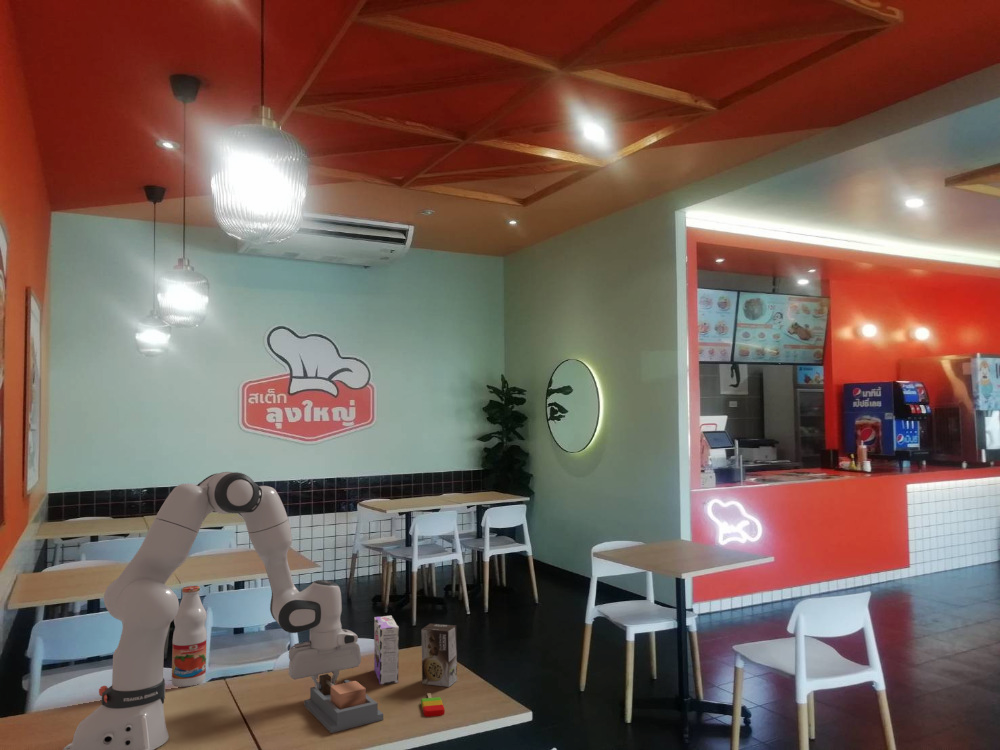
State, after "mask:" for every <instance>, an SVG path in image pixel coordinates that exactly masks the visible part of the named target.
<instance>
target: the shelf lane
mask: <svg viewBox="0 0 1000 750" xmlns="http://www.w3.org/2000/svg"><path fill="white" fill-rule="evenodd" d="M347 682H351V680H349V679H344V680H343V683H347ZM309 689H310V690H309V691H310V696H309V698H308V699H307V698H306V699H304V704H303V706H304V708H306V709H307V710H308V711H309V712H310V713H311V714H312V715H313V716H314V718H315V719H317V720H318V721H319V723H321V724H322V726H324V728H325V729H326V730H327V731H328V732H330V734H333V733H337V732H342V731H346V730H349V729H352V728H358V727H360V726H364V725H368V724H371V723H376V722H380V721H383V720H384V713H383V712H382V711H381V710H380V709H378V708H379V707H378V706H379V705H378V702H377V701H375V700H374V699H373V698H372V697H370V696H369V695H368V694H367V693H366V704H362V705H357V706H353V707H349V708H345V709H341V710H340V709H338V708H337V707H336V706H335V705H334V704H333V703H332V702H331V701H330V695H325V696H324V695H323V694H322V693H321V692H320V691H319V690H318V689H317V688H316V687H315V686H313V687H310V688H309Z"/></svg>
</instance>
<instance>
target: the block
mask: <svg viewBox="0 0 1000 750" xmlns="http://www.w3.org/2000/svg"><path fill="white" fill-rule="evenodd" d="M331 678H332V676H331V675H329V674H328V673H325V674H320V675H318V682H320V683H322V690H319V691H320V692H321V693H322V694H323V695H324V696H325V695H330V701H331V702H332V703H333V704H334V705H335V706H336V707H337V708H338V709H340V710H341V709H345V708H349V707H353V706H357V705H362V704H366V694H367V693H366V692H367V689H366V687H364V685H362V684H360V683H359V682H358V680H357V681H356V680H351V681H350V682H347V683H344V682H343V683H339V684H338V683H337V684H335V685H334V684H332V683H331Z"/></svg>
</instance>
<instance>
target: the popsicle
mask: <svg viewBox="0 0 1000 750" xmlns="http://www.w3.org/2000/svg"><path fill="white" fill-rule="evenodd" d="M426 695H427V698H421V699H420V705H421V709H422V712H423V716H424V717H426V718H427V717H428V718H429V717H430V718H431V717H438V716H439V717H441V716H444V715H445V710H446V709H445V706H444V704H443V701H442V698H441V697H439V696H438V697H432V693H431V692H427V693H426Z"/></svg>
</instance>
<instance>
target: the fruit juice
mask: <svg viewBox="0 0 1000 750" xmlns="http://www.w3.org/2000/svg"><path fill="white" fill-rule="evenodd" d="M200 589H201V587H200V585H188V586H184V587H182V590H181V592H182V598H181V600H180V602H179V608H178V612H177V615H176V616H175V618H174V619H173V623H174V624H173V625H174V628H175V629H174V631H173V635H172V654H171V656H172V657H171V659H172V661H171V684H172V685H173V687H179V688H183V687H184V688H188V687H192V686H196V685H199V684H201V683H203V682H204V681H205V680H206V676H207V674H206V673H207V640H208V639H207V636H208V635H207V628H206V621H207V611H206V609H205V607H204V605H203V603H202V600H201V596H200V594H199V593H200V591H201V590H200Z"/></svg>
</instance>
